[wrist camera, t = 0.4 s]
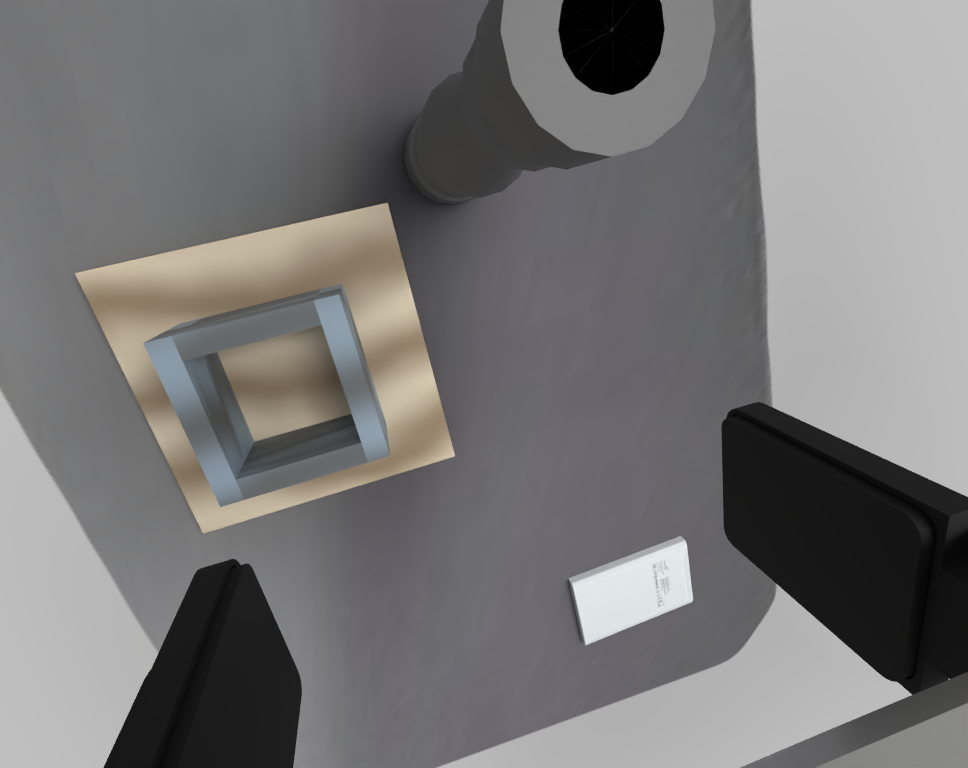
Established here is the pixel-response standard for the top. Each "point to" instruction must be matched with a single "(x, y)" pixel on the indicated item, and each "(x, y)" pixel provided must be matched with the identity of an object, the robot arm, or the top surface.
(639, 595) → the external hard drive
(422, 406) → the socket board
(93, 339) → the top surface
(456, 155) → the candle holder
